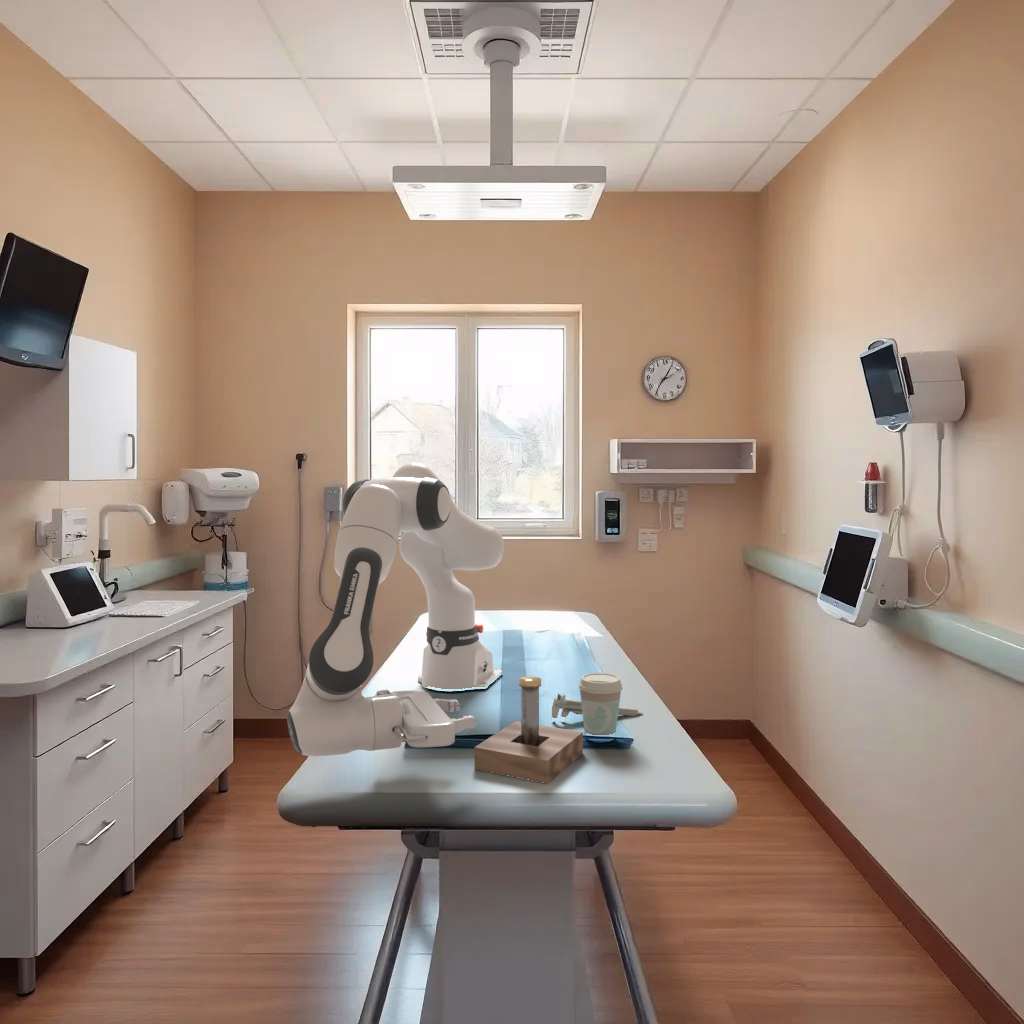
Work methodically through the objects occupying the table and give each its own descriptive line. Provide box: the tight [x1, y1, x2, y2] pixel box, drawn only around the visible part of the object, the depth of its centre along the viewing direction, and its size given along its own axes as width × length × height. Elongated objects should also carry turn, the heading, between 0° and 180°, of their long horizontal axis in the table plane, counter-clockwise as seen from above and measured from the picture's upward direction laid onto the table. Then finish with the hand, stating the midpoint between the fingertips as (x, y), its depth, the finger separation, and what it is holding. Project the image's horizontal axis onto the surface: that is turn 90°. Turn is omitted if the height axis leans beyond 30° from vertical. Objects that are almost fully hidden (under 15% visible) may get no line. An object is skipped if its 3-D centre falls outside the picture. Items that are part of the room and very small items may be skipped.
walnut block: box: [473, 720, 584, 784], centre depth 147 cm, size 16×14×4 cm
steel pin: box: [518, 675, 542, 747], centre depth 147 cm, size 4×4×15 cm
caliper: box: [551, 693, 644, 719], centre depth 171 cm, size 20×1×6 cm, turn 107°
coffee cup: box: [577, 672, 624, 735], centre depth 159 cm, size 8×8×12 cm
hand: (466, 712), depth 143 cm, fingers open, 8 cm apart
